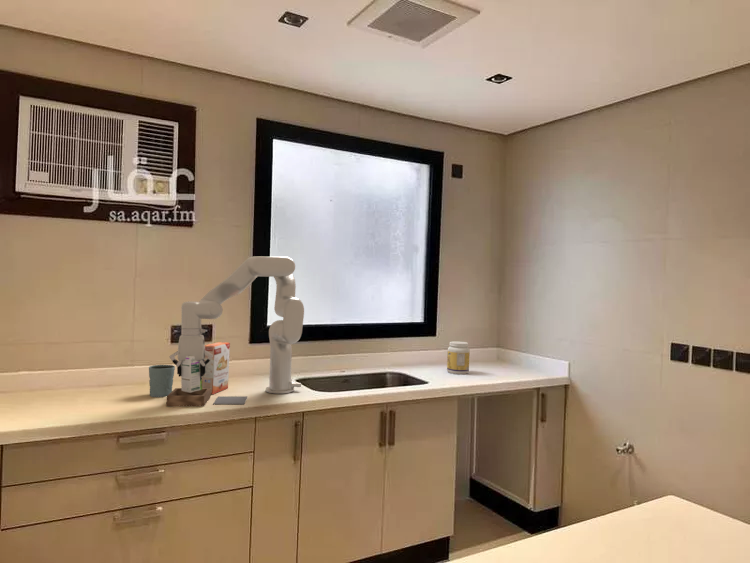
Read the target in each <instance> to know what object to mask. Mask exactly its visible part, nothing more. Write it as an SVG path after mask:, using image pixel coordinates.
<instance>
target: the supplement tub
mask: <svg viewBox="0 0 750 563" xmlns="http://www.w3.org/2000/svg"><path fill="white" fill-rule="evenodd" d="M448 345H449V346H448V347H447V361H446V372H448V374H453V375H466V374H469V371H470V353H471V352H470V351H471V350H470V348H469V343H468V342H467V341H459V340H457V341H456V340H455V341H454V340H453V341H449V344H448Z"/></svg>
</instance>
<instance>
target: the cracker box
mask: <svg viewBox="0 0 750 563" xmlns="http://www.w3.org/2000/svg"><path fill="white" fill-rule="evenodd" d="M230 345H231V343H230V342H223V341H217V342H214V343H209V344H205V350H206V351H207V352H209V353H211V354H212V355H213V357H212V359H211V360H210V361H209V362H208V363H207V364H206V373H205V374H204V375H203V376H202V388H211V394H210V395H215V394H216V393H219V392H222V391H224V390H226V389H228V388H229V373H230V372H229V370H230V351H231V346H230ZM203 359H204V360H205V361H206V360H207V359H208V356H207V355H205V358H203Z"/></svg>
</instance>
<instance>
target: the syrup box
mask: <svg viewBox="0 0 750 563" xmlns="http://www.w3.org/2000/svg"><path fill="white" fill-rule="evenodd" d="M201 366H202V364H201V363H200V361H196V360H195V357H194V356H186V359H185V361H182V363H181V376H180V379H181V380H180V382H181V384H180V385H181V387H180V388H182V391H184V392H189V393H192V392H195V391H199V390H202V376H201Z"/></svg>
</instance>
